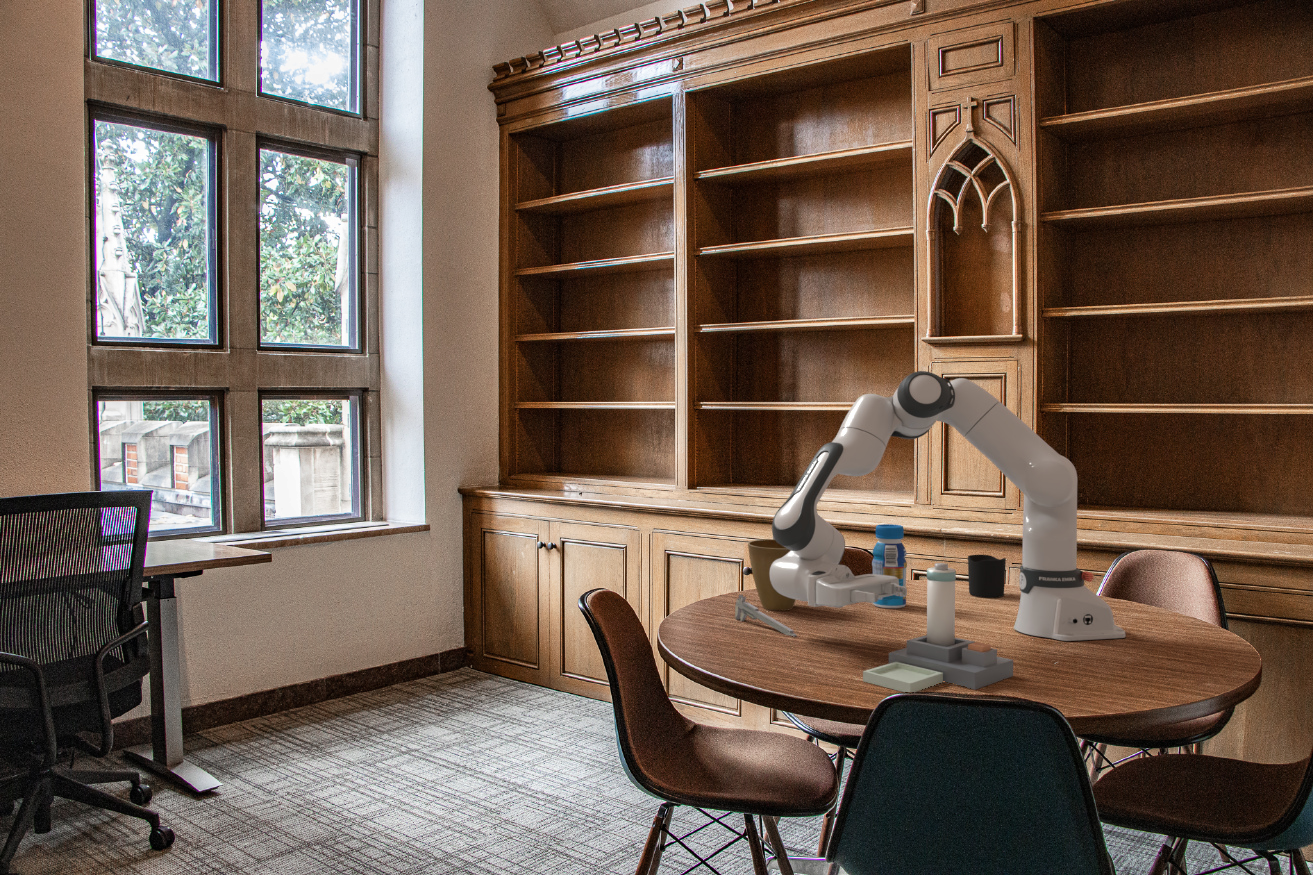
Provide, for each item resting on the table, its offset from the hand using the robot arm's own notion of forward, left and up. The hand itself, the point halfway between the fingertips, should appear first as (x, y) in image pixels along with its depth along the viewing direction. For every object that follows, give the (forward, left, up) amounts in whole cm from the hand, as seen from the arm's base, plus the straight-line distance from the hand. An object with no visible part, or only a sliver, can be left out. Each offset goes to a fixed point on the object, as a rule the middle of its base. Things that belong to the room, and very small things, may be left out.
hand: (890, 595), depth 187 cm
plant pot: (+15, -48, -13) cm, 52 cm away
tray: (+2, +16, -13) cm, 21 cm away
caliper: (+21, -27, -13) cm, 37 cm away
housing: (-9, +10, -13) cm, 18 cm away
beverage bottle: (-13, -50, -13) cm, 53 cm away
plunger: (-12, +15, -9) cm, 21 cm away
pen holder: (-42, -63, -13) cm, 77 cm away
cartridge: (-7, +9, -10) cm, 15 cm away
